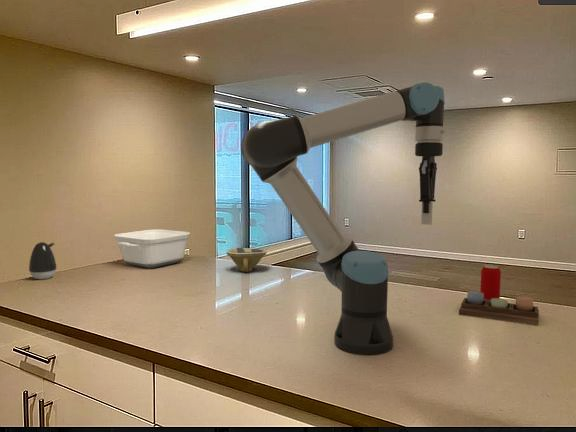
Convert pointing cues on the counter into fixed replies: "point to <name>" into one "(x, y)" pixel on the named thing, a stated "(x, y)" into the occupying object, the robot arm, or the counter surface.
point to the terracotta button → (524, 303)
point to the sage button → (499, 303)
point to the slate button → (475, 297)
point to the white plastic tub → (152, 247)
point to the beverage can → (490, 282)
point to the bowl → (246, 258)
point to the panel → (499, 312)
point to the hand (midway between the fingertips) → (426, 224)
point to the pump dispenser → (42, 261)
